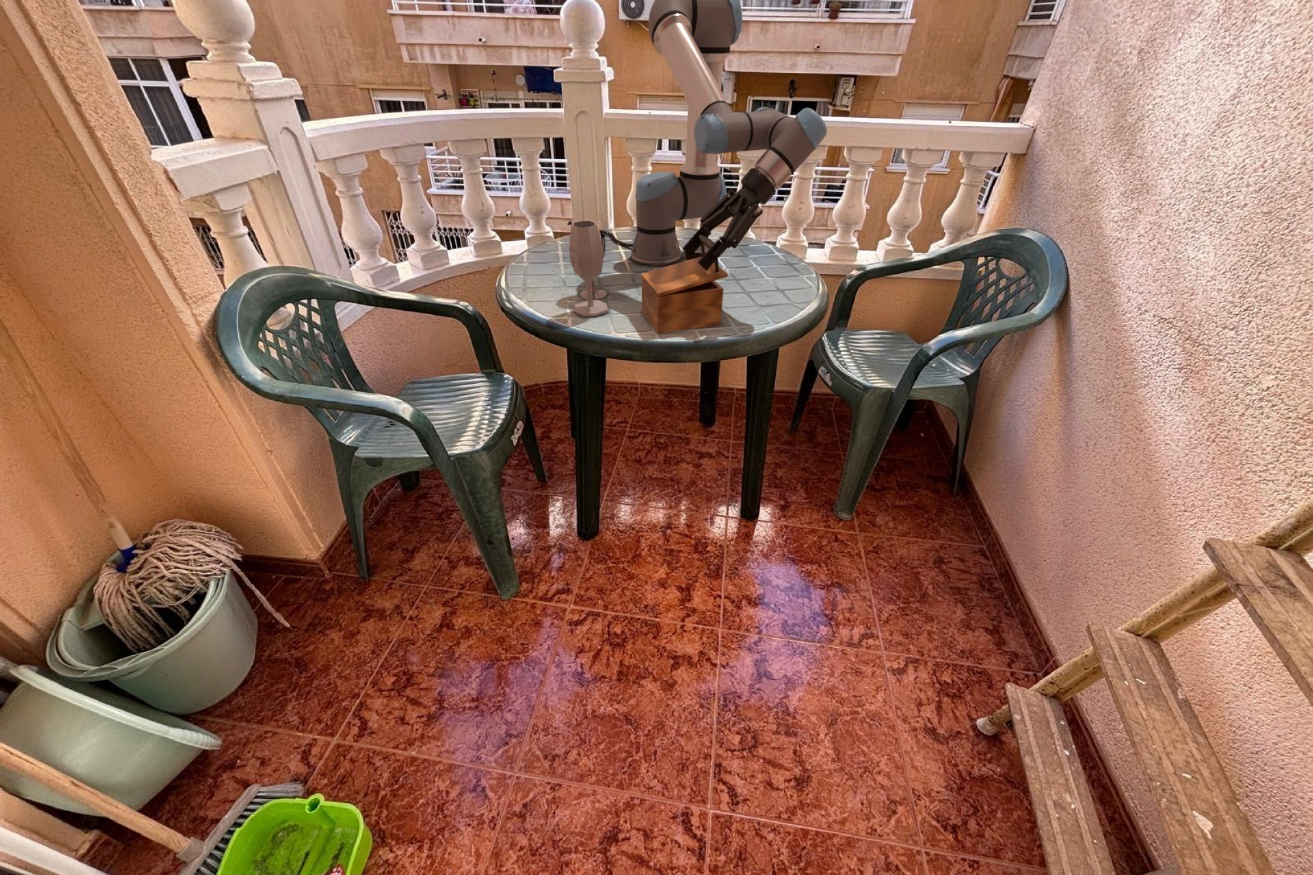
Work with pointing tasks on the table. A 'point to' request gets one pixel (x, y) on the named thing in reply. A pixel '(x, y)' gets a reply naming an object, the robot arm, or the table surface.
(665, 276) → the lid
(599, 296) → the wine glass
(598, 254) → the wineglass
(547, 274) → the table surface
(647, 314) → the chest
